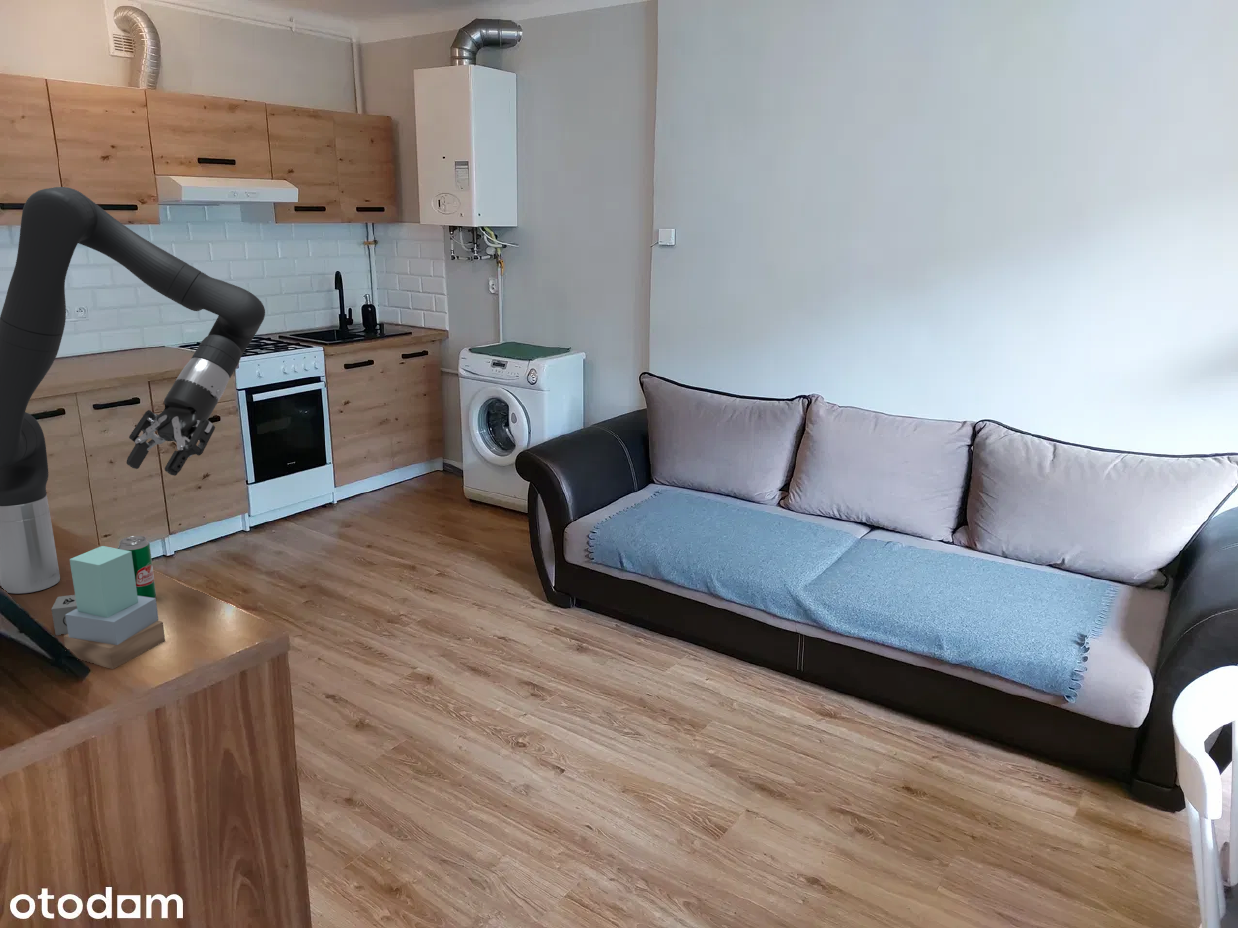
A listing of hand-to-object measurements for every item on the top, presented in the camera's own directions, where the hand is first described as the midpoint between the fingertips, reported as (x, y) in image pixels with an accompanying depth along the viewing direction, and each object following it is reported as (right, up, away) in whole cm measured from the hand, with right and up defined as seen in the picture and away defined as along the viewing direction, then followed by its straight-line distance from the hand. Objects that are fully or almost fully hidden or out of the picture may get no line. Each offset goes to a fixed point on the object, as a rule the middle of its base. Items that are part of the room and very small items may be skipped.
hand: (150, 469), depth 142 cm
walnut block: (-5, -30, -2) cm, 30 cm away
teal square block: (-5, -22, -4) cm, 23 cm away
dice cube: (-15, -27, +5) cm, 32 cm away
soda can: (-10, -24, +15) cm, 30 cm away
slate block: (-4, -26, -3) cm, 26 cm away
